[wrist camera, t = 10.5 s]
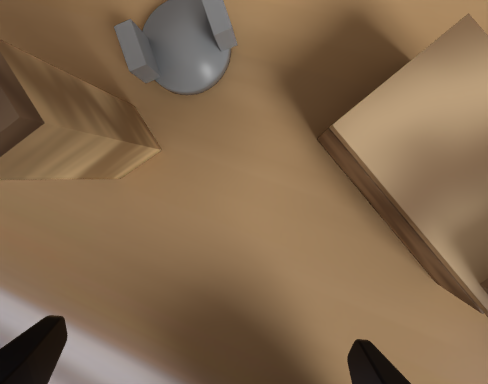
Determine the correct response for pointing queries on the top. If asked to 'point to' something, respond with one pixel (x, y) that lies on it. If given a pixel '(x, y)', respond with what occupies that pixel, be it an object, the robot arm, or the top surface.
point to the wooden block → (64, 125)
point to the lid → (434, 149)
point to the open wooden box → (393, 217)
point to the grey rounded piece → (180, 45)
